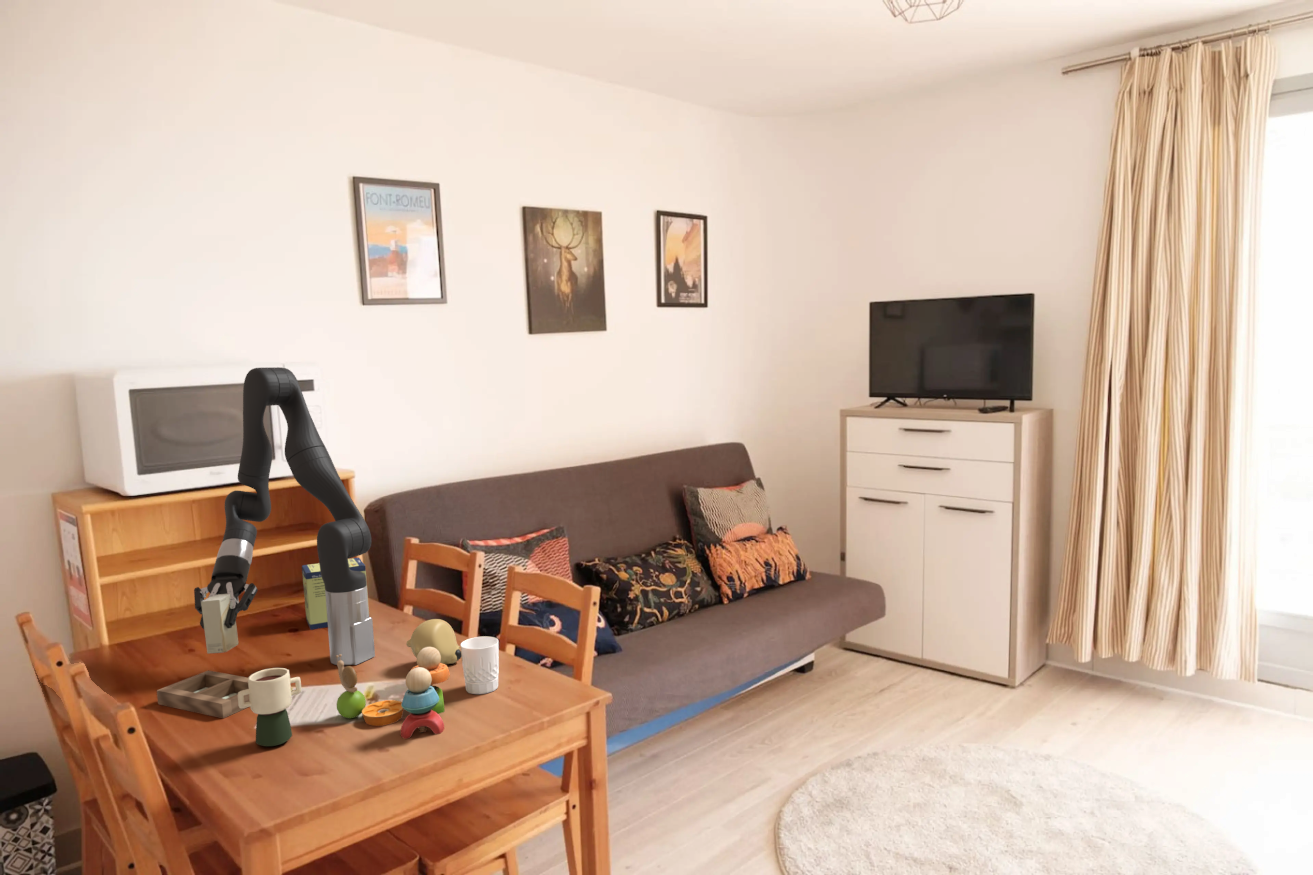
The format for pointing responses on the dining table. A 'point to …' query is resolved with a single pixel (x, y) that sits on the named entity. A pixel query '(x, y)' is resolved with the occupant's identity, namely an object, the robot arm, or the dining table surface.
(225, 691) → the wooden compartment tray
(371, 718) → the wooden stacking toy
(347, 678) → the snail figurine
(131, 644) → the dining table surface
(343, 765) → the dining table surface
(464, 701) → the dining table surface
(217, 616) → the skincare box
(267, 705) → the character mug
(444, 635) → the beige animal figurine
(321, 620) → the protein box
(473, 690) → the white cup
